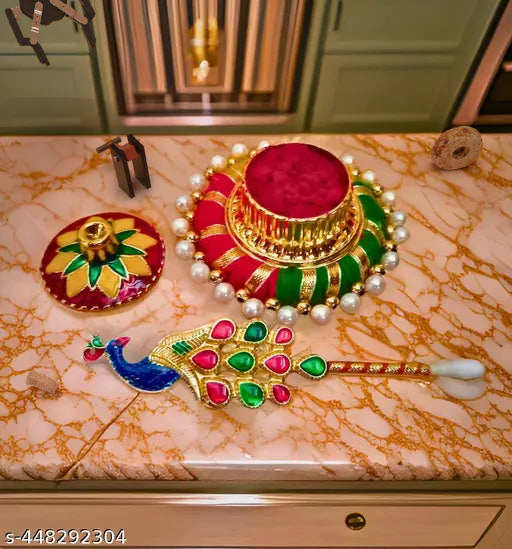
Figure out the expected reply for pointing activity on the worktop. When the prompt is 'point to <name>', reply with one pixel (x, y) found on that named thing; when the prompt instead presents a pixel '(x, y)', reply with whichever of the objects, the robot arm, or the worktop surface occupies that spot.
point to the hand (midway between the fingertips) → (71, 56)
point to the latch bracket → (123, 167)
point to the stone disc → (457, 148)
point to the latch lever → (126, 148)
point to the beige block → (47, 382)
